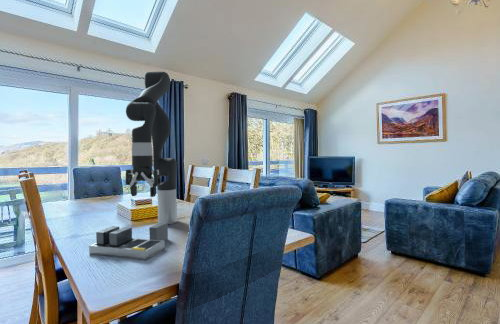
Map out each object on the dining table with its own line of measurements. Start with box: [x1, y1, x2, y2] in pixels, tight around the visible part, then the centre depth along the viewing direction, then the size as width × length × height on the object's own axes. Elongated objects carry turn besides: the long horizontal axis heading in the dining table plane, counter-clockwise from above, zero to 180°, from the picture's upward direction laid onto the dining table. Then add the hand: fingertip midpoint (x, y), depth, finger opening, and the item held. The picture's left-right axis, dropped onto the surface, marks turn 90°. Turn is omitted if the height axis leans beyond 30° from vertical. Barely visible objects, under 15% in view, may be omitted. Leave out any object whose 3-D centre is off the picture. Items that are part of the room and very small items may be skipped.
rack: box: [88, 225, 166, 261], centre depth 99 cm, size 23×11×8 cm, turn 75°
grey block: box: [149, 222, 169, 242], centre depth 110 cm, size 8×3×7 cm, turn 165°
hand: (143, 196), depth 106 cm, fingers open, 8 cm apart
